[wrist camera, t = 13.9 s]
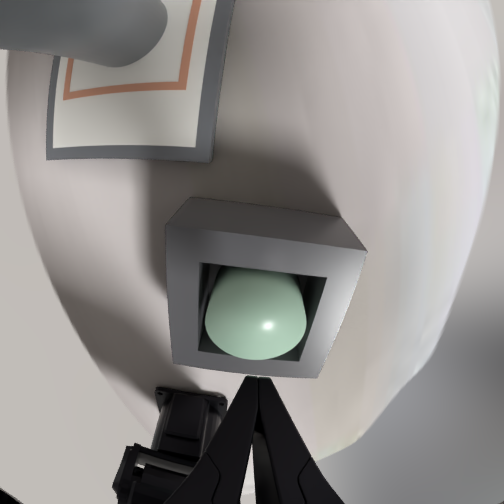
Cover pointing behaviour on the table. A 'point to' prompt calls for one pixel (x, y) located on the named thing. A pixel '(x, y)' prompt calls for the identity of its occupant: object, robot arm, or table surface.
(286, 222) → the button housing
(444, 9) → the table surface
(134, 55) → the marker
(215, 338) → the button
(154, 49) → the board
